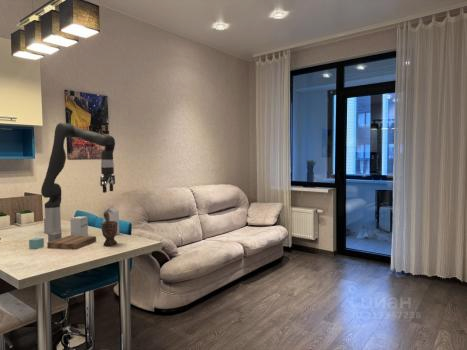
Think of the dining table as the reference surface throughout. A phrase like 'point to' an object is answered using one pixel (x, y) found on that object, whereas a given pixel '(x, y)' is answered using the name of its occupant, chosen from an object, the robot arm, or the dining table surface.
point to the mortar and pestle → (109, 230)
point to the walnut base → (71, 242)
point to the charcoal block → (54, 236)
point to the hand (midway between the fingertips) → (108, 191)
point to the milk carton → (113, 215)
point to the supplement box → (79, 226)
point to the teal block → (36, 243)
